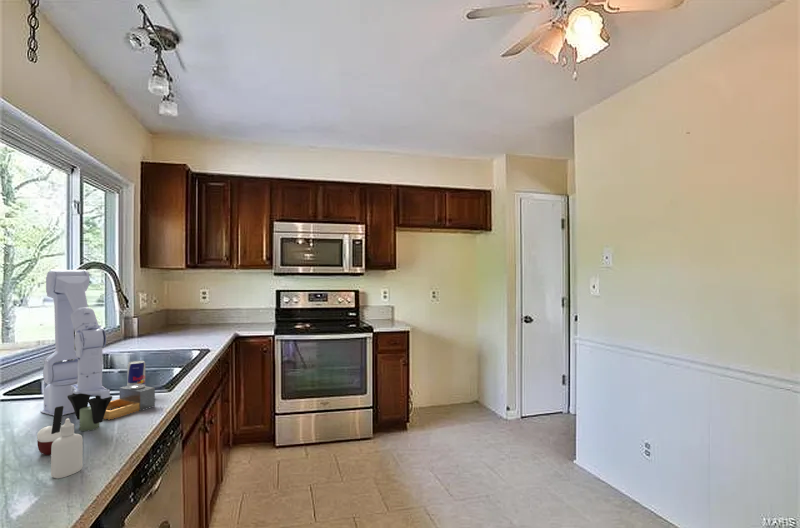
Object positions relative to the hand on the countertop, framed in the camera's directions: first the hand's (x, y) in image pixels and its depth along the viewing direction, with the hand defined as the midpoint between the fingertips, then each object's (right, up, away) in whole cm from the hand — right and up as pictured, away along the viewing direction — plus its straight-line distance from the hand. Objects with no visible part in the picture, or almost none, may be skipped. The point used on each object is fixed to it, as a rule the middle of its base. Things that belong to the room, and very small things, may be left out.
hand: (89, 420), depth 127 cm
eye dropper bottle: (+14, -2, -27) cm, 31 cm away
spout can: (0, -2, 0) cm, 2 cm away
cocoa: (+2, -2, -16) cm, 17 cm away
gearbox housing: (0, -2, +15) cm, 15 cm away
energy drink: (-4, -2, +29) cm, 30 cm away
